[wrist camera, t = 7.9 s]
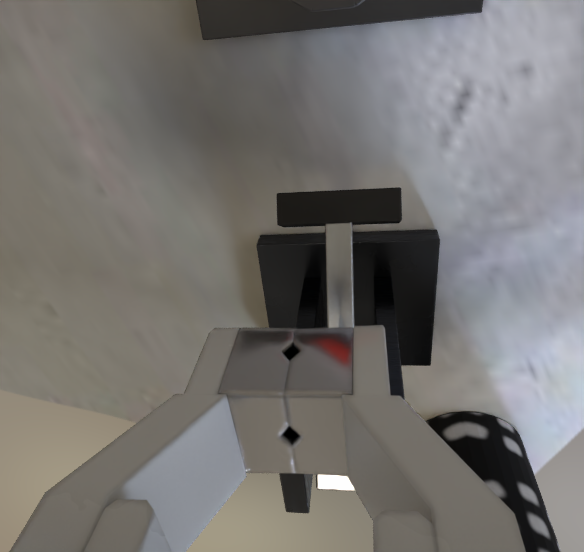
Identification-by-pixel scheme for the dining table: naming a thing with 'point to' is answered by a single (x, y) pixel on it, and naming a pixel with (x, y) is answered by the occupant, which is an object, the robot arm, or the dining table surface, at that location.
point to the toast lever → (339, 251)
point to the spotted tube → (501, 470)
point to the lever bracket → (355, 301)
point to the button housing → (316, 14)
